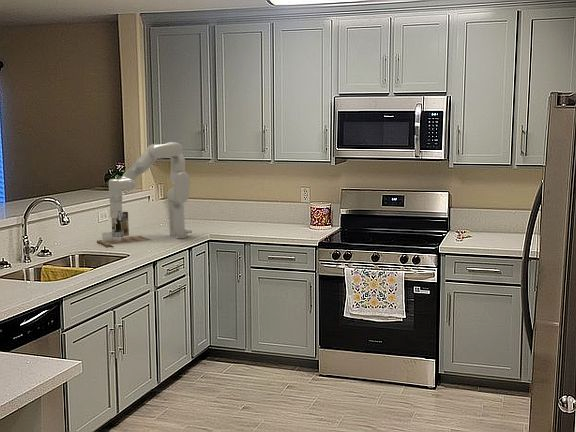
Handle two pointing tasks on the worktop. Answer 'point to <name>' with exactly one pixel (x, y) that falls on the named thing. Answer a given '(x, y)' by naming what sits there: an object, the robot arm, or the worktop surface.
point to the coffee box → (123, 223)
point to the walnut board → (126, 240)
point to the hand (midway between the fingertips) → (117, 229)
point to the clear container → (113, 236)
